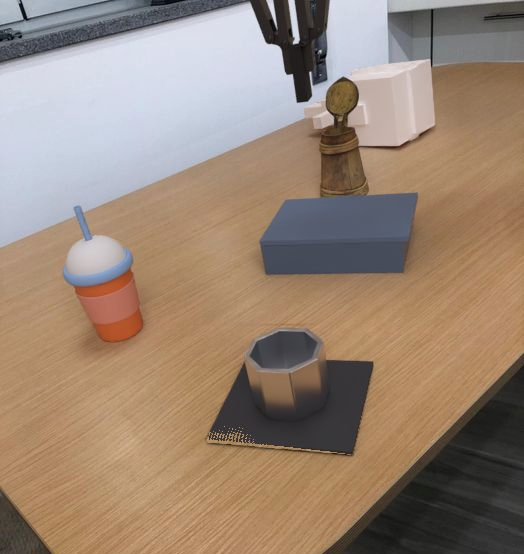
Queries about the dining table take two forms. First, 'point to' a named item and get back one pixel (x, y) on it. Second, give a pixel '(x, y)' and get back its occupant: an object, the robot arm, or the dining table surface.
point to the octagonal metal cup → (288, 373)
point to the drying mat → (309, 432)
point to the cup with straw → (104, 283)
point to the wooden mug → (341, 145)
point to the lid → (343, 220)
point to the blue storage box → (335, 258)
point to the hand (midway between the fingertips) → (304, 99)
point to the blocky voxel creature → (386, 104)
